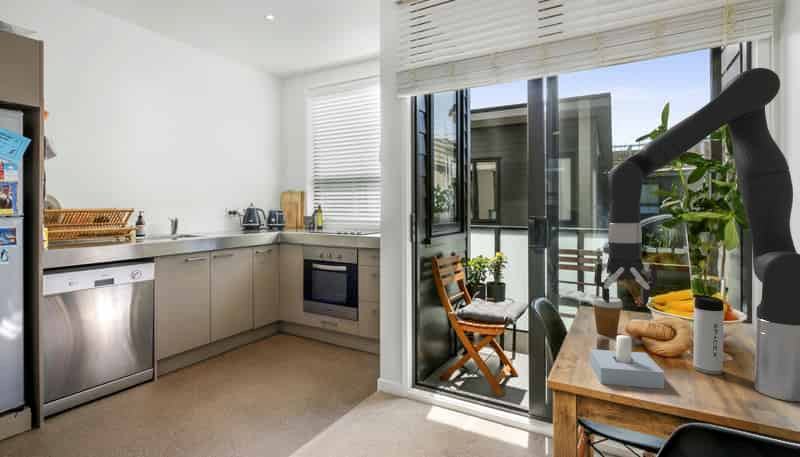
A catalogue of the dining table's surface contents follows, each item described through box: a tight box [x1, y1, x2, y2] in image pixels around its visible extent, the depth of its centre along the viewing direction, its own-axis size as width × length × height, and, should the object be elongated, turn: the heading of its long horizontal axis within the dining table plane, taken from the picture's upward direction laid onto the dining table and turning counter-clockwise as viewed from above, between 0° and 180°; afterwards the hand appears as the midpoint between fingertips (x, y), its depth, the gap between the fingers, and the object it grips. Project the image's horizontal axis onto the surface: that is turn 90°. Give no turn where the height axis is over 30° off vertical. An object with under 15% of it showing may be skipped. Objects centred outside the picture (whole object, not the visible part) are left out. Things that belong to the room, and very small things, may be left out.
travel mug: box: [692, 293, 725, 376], centre depth 110 cm, size 6×7×20 cm
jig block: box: [589, 348, 665, 390], centre depth 108 cm, size 14×14×4 cm
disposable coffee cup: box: [591, 295, 623, 337], centre depth 144 cm, size 10×10×12 cm
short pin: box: [596, 336, 610, 350], centre depth 123 cm, size 3×3×5 cm
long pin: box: [615, 334, 632, 364], centre depth 108 cm, size 3×3×10 cm
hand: (625, 302), depth 107 cm, fingers open, 8 cm apart
